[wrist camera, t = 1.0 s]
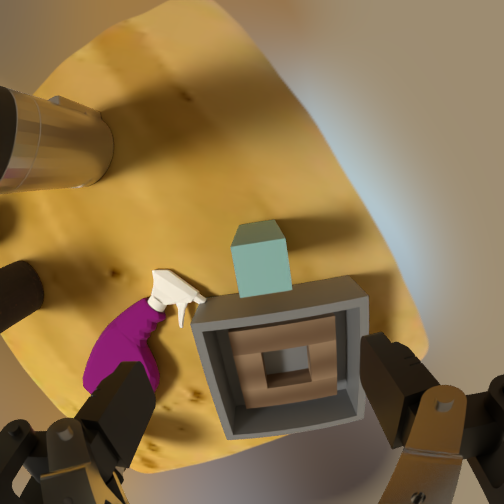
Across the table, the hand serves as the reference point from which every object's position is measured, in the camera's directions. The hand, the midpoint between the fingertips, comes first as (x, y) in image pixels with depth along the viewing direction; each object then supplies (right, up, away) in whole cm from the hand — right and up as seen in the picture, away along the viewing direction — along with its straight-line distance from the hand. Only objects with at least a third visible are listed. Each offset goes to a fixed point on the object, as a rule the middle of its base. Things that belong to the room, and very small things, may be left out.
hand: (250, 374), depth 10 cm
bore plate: (+4, -9, +27) cm, 28 cm away
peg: (+1, +6, +24) cm, 24 cm away
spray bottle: (-15, -9, +27) cm, 32 cm away
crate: (+4, -9, +27) cm, 28 cm away
